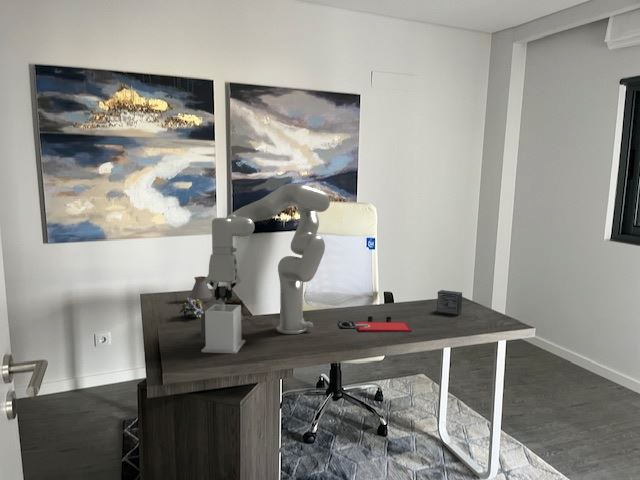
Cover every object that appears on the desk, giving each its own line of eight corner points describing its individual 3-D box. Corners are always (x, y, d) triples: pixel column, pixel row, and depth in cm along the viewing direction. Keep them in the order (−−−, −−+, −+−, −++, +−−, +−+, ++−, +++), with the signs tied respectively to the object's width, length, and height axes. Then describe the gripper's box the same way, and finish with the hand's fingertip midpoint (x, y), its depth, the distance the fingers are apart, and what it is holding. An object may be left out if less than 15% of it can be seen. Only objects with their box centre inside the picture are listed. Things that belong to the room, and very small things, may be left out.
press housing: (245, 341, 184) (244, 304, 182) (236, 353, 171) (235, 313, 169) (208, 340, 185) (207, 303, 184) (196, 351, 172) (195, 312, 171)
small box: (462, 313, 229) (462, 292, 228) (458, 316, 224) (459, 294, 223) (440, 309, 235) (441, 289, 234) (436, 312, 229) (437, 291, 228)
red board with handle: (337, 322, 212) (341, 333, 198) (338, 316, 212) (341, 326, 197) (403, 322, 214) (411, 333, 199) (403, 316, 213) (411, 327, 199)
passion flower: (199, 329, 217) (200, 312, 210) (175, 325, 216) (176, 308, 208) (205, 310, 226) (206, 294, 218) (182, 306, 225) (182, 290, 217)
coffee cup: (234, 335, 192) (233, 304, 191) (219, 331, 197) (218, 301, 195) (248, 329, 200) (247, 299, 198) (233, 326, 204) (233, 297, 202)
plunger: (237, 335, 181) (236, 284, 179) (231, 342, 173) (230, 289, 171) (216, 334, 182) (216, 284, 180) (209, 341, 174) (208, 288, 172)
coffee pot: (188, 304, 242) (187, 275, 240) (191, 299, 253) (190, 271, 251) (230, 303, 244) (229, 275, 242) (231, 298, 255) (231, 271, 254)
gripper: (247, 250, 177) (247, 297, 179) (204, 249, 178) (205, 296, 180) (241, 252, 169) (242, 302, 171) (197, 251, 171) (198, 301, 173)
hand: (223, 299), depth 176 cm, fingers closed on plunger, 3 cm apart
